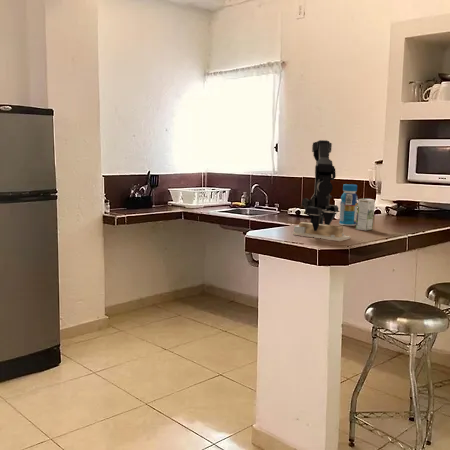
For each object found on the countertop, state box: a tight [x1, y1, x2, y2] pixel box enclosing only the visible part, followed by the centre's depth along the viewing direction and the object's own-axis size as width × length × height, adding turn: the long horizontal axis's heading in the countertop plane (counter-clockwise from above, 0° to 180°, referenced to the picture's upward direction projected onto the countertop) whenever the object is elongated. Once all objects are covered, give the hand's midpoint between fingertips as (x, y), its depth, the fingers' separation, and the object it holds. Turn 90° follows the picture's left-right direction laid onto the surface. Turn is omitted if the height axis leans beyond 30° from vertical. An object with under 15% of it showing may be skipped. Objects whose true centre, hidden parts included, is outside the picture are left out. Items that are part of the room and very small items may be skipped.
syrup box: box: [355, 198, 376, 231], centre depth 258 cm, size 6×6×14 cm
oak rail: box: [298, 221, 344, 237], centre depth 233 cm, size 18×4×4 cm, turn 58°
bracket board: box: [292, 224, 351, 242], centre depth 233 cm, size 10×22×4 cm, turn 51°
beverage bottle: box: [338, 183, 359, 227], centre depth 273 cm, size 8×8×20 cm
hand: (320, 229), depth 233 cm, fingers open, 9 cm apart
